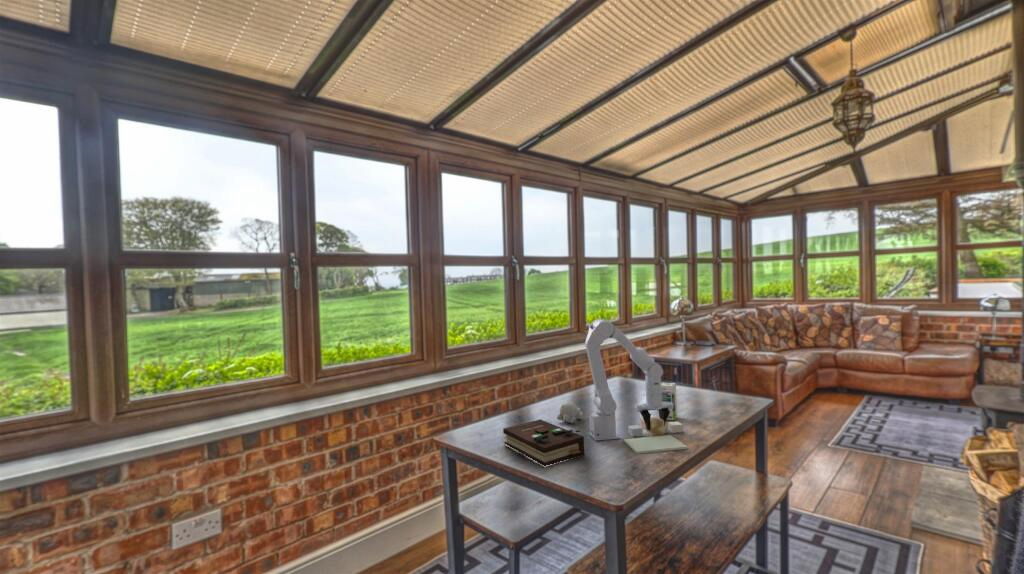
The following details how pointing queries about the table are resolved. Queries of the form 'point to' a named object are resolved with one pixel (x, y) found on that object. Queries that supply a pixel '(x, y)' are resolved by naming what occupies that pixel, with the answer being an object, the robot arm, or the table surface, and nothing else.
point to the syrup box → (669, 398)
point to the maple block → (656, 426)
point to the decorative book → (545, 441)
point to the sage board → (654, 444)
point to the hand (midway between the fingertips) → (655, 428)
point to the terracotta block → (643, 423)
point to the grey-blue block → (635, 430)
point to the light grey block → (675, 427)
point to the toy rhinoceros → (569, 412)
